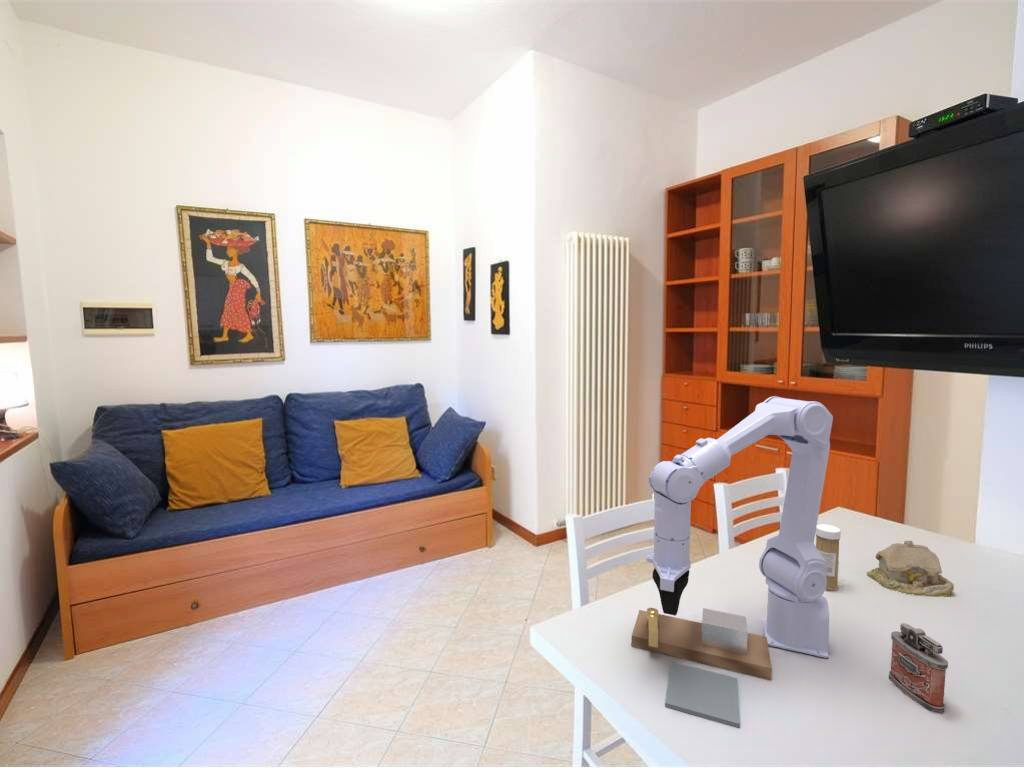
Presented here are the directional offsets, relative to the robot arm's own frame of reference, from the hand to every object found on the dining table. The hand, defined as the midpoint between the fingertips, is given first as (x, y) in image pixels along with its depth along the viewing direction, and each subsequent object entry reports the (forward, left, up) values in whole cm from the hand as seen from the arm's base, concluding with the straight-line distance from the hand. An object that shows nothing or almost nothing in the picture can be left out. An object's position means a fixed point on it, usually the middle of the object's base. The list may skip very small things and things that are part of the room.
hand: (670, 612), depth 80 cm
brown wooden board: (-4, -5, -8) cm, 11 cm away
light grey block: (-8, -5, -6) cm, 12 cm away
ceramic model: (-47, -48, -9) cm, 67 cm away
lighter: (-35, -6, -9) cm, 37 cm away
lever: (+3, -3, -6) cm, 8 cm away
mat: (-5, +7, -8) cm, 12 cm away
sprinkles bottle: (-29, -39, -9) cm, 50 cm away
